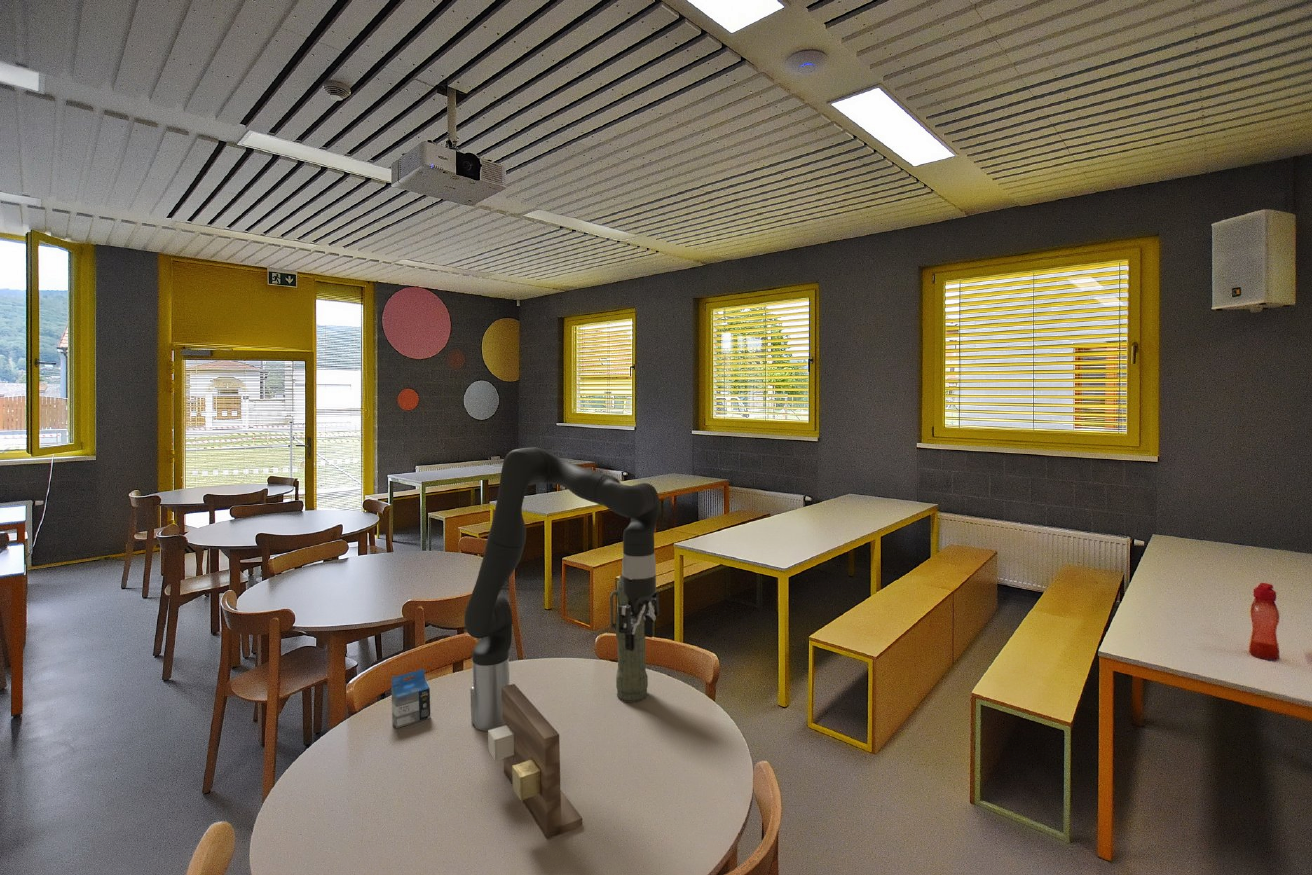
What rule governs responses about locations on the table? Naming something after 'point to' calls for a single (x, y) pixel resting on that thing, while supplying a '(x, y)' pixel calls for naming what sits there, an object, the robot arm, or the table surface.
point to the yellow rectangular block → (526, 779)
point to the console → (538, 762)
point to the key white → (501, 742)
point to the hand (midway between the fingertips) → (639, 642)
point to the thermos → (629, 656)
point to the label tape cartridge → (410, 699)
